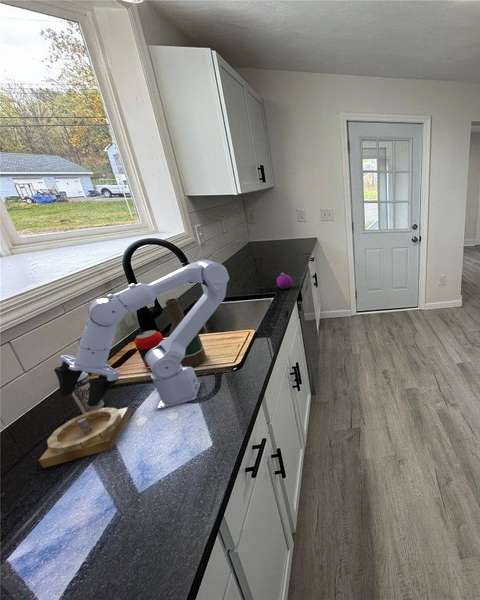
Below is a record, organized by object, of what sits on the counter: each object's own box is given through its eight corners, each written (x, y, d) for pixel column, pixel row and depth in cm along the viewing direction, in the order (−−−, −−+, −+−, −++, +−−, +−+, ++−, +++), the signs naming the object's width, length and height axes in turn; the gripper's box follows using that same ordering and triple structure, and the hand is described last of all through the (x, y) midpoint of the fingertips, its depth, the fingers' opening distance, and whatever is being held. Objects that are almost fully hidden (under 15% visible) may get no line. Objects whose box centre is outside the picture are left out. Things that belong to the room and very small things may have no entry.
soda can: (158, 357, 115) (146, 328, 111) (177, 358, 114) (165, 329, 109) (140, 369, 108) (126, 339, 104) (159, 370, 107) (146, 340, 103)
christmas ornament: (291, 285, 182) (287, 268, 178) (295, 288, 175) (291, 271, 171) (276, 288, 178) (272, 271, 174) (280, 292, 171) (276, 275, 167)
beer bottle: (198, 368, 107) (174, 304, 98) (176, 369, 107) (150, 305, 98) (211, 355, 114) (190, 294, 105) (190, 356, 114) (168, 296, 105)
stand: (132, 413, 88) (123, 396, 85) (112, 448, 76) (101, 430, 74) (73, 429, 83) (62, 411, 81) (43, 468, 72) (30, 449, 70)
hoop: (129, 406, 87) (126, 401, 86) (108, 441, 75) (105, 436, 75) (69, 421, 83) (66, 417, 82) (37, 460, 71) (33, 455, 71)
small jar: (91, 416, 88) (71, 381, 83) (78, 414, 89) (58, 379, 84) (109, 404, 92) (91, 370, 87) (96, 402, 93) (78, 369, 88)
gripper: (50, 340, 74) (33, 395, 73) (104, 358, 72) (88, 414, 72) (82, 337, 81) (67, 387, 81) (133, 353, 79) (117, 404, 79)
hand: (79, 399), depth 77 cm, fingers open, 7 cm apart
